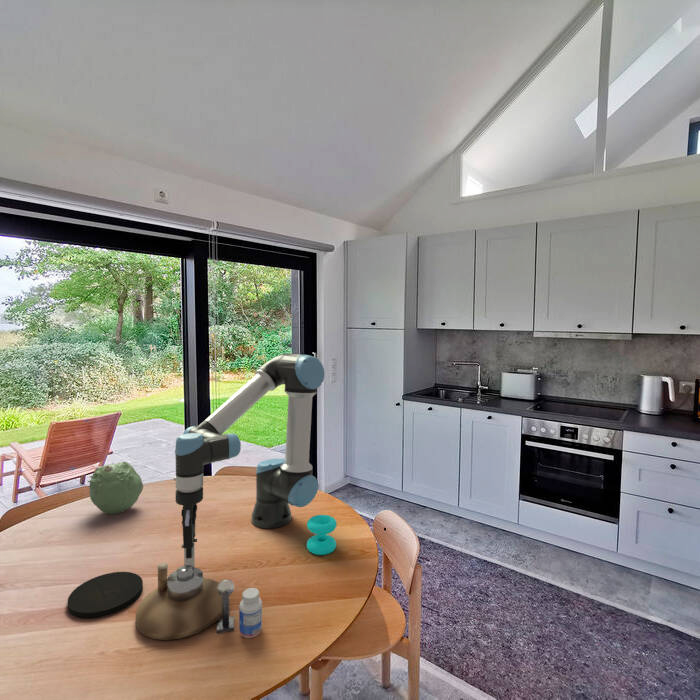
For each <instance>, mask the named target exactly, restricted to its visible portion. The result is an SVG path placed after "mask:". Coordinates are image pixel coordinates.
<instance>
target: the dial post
mask: <svg viewBox="0 0 700 700" xmlns="http://www.w3.org/2000/svg"><path fill="white" fill-rule="evenodd" d="M234 591H235V584H234V581H232V579H228V578H226V579H223V580H221V581H220V582H219V584H218V587H217V592H218V594H219V595H220V596H222V615H221V617H220V618H219V619H218V620H217V621H216V622H217V624H216V633H217V634H219V633H225V632H226V633H227V632H232V631H235V616H234V615H233V616H230V596H231V595H232V594H233V593H234Z"/></svg>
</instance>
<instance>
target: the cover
mask: <svg viewBox="0 0 700 700" xmlns="http://www.w3.org/2000/svg"><path fill="white" fill-rule="evenodd" d="M203 578H204V573H203V570H202V569H200V568H199V567H195V566H194V567H193V566H192V565H181V566H179V567H178V568H177V569H176V570H175V571H173V572H172V573H170V574H169V575H168V576H167V596H168V598H169V599H170V600H172V601H177V602H181V601H187V600H191V599H193V598H195V597H197V596H198V595H199V594H200V593H201V592H202V590H203Z"/></svg>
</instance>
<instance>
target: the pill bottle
mask: <svg viewBox="0 0 700 700" xmlns="http://www.w3.org/2000/svg"><path fill="white" fill-rule="evenodd" d="M238 608H239V609H238V611H239V615H238V616H239V620H238V621H239V622H238V623H239V624H238V625H239V626H238V627H239V634H240V636H241V637H242V638H243V637H244V638H247V639H250V638H254V637H255V638H256V636H258V635H259V634H260V633H261V632H262V629H263V618H262V617H263V601H262V599H261V598H260V591H259V589H257V588H256V587H255V588H254V587H249V588H246V589H245V590H244V591H243V592H242V596H241V600H240V603H239V607H238Z"/></svg>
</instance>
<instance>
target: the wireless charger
mask: <svg viewBox="0 0 700 700" xmlns="http://www.w3.org/2000/svg"><path fill="white" fill-rule="evenodd" d="M143 583H144V581H143V579H142V577H141V576H140V575H139V574H137V573H135V572H130V571H115V572H109V573H105V574H100V575H98V576H95V577H93V578H91V579H89V580H87V581H84V582H83V583H81V584H80V585H78V586H77V587H75V588H74V589H73V590H72V591H71V593H70V594H69V595H68V598H67V612H68V613H69V615H70V616H72V617H74V618H76V619H82V620H95V619H100V618H105V617H108V616H111V615H114V614H118V613H119V612H121V611H123V610H125V609H126V608H129V607H130V606H131V605H132V604H134V603H135V602H137V600H138V599H140V597H141V596H142V593H143V590H144V588H143V587H144V585H143Z"/></svg>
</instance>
